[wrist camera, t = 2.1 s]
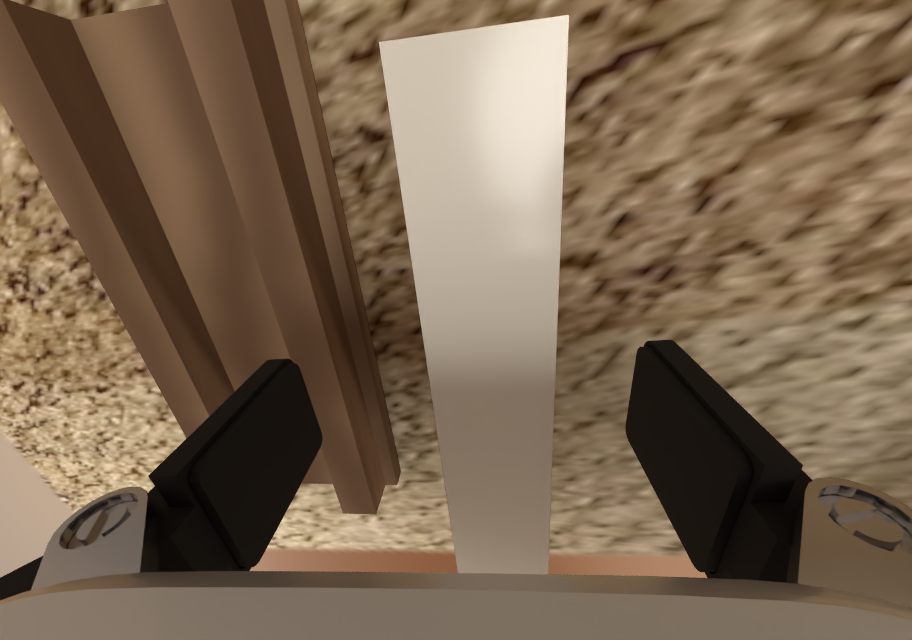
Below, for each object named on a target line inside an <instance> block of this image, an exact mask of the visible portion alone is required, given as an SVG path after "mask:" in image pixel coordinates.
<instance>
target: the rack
mask: <svg viewBox="0 0 912 640" xmlns="http://www.w3.org/2000/svg"><path fill="white" fill-rule="evenodd" d="M0 101H1V103H2V105H3V106H4V108H5V110H6V112H7V114H8V115H9V117H10V119H11V121H12V123H13V124H14V126H15V128H16V130H17V132H18V133H19V135H20V137H21V139H22V141H23V143H24V144H25V146H26V148H27V150H28V152H29V153H30V155H31V157H32V159H33V161H34V162H35V164H36V166H37V168H38V170H39V172H40V173H41V175H42V177H43V179H44V181H45V182H46V184H47V186H48V188H49V190H50V191H51V193H52V195H53V197H54V199H55V200H56V202H57V204H58V206H59V208H60V210H61V211H62V213H63V215H64V217H65V219H66V220H67V222H68V224H69V226H70V228H71V229H72V231H73V233H74V235H75V237H76V239H77V240H78V242H79V244H80V246H81V248H82V249H83V251H84V253H85V255H86V257H87V258H88V260H89V262H90V264H91V266H92V267H93V269H94V271H95V273H96V275H97V277H98V278H99V280H100V282H101V284H102V286H103V287H104V289H105V291H106V293H107V295H108V296H109V298H110V300H111V302H112V304H113V306H114V307H115V309H116V311H117V313H118V315H119V316H120V318H121V320H122V322H123V324H124V325H125V327H126V329H127V331H128V333H129V334H130V336H131V338H132V340H133V342H134V344H135V345H136V347H137V349H138V351H139V353H140V354H141V356H142V358H143V360H144V362H145V363H146V365H147V367H148V369H149V371H150V373H151V374H152V376H153V378H154V380H155V382H156V383H157V385H158V387H159V389H160V391H161V392H162V394H163V396H164V398H165V400H166V401H167V403H168V405H169V407H170V409H171V411H172V412H173V414H174V416H175V418H176V420H177V421H178V423H179V425H180V427H181V429H182V430H183V432H184V434H185V436H186V438H188V437H189V436H190V435H191V434H192V433H193V432H194V431H195V430H196V429H197V428H198V427H199V426H200V425H201V424H202V423H203V422H204V421H205V420H206V419H207V418H208V417H209V416H210V415H211V414H212V413H213V412H214V411H215V410H216V409H217V408H218V407H219V406H220V405H222V404H223V403H224V402H225V401H226V400H227V399H228V398H229V397H230V396H231V395H232V394H233V393H234V392H235V391H236V390H237V389H238V388H239V387H240V386H241V385H242V384H243V383H244V382H245V381H246V380H247V379H248V378H249V377H250V376H251V375H252V374H253V373H254V372H255V371H256V370H257V369H258V368H259V367H260V366H261V365H262V364H263V363H264V362H266V361H267V360H270V359H291V360H292V361H293V362H294V363H296V364H298V366H299V367H300V370H301V373H302V376H303V379H304V382H305V385H306V388H307V391H308V394H309V397H310V400H311V403H312V406H313V408H314V411H315V414H316V417H317V420H318V423H319V426H320V429H321V432H322V437H323V439H322V445H321V448H320V450H319V451H318V453H317V455H316V457H315V459H314V461H313V463H312V464H311V466H310V468H309V470H308V472H307V474H306V476H305V477H304V479H303V481H302V483H313V484H333V485H334V488H335V491H336V494H337V497H338V500H339V503H340V506H341V509H342V511H343V513H349V514H376V513H377V510H378V507H379V503H380V500H381V497H382V494H383V491H384V488H385V485H397V483H398V480H399V476H400V473H401V470H400V466H399V461H398V457H397V452H396V448H395V443H394V439H393V434H392V429H391V425H390V420H389V416H388V411H387V407H386V402H385V398H384V393H383V389H382V384H381V379H380V375H379V370H378V366H377V361H376V357H375V352H374V348H373V343H372V339H371V334H370V329H369V325H368V320H367V316H366V311H365V307H364V302H363V298H362V293H361V289H360V284H359V279H358V275H357V270H356V266H355V261H354V257H353V252H352V248H351V243H350V239H349V234H348V229H347V225H346V220H345V216H344V211H343V207H342V202H341V198H340V193H339V188H338V184H337V179H336V175H335V170H334V166H333V161H332V157H331V152H330V148H329V143H328V138H327V134H326V129H325V125H324V120H323V116H322V111H321V107H320V102H319V98H318V93H317V88H316V84H315V79H314V75H313V70H312V66H311V61H310V57H309V52H308V48H307V43H306V38H305V34H304V29H303V25H302V20H301V16H300V11H299V7H298V2H297V0H168V3H167V4H161V5H155V6H149V7H144V8H138V9H132V10H126V11H121V12H115V13H109V14H103V15H97V16H92V17H86V18H80V19H74V20H69V19H66V18H63V17H60V16H56V15H53V14H50V13H47V12H44V11H41V10H38V9H35V8H31V7H28V6H25V5H22V4H19V3H16V2H13V1H10V0H0Z"/></svg>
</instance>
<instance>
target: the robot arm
mask: <svg viewBox="0 0 912 640" xmlns="http://www.w3.org/2000/svg"><path fill="white" fill-rule="evenodd" d="M626 435H627V438H628V441H629V443H630V444H631V446H632V448H633V450H634V452H635V454H636V456H637V458H638V460H639V462H640V464H641V466H642V468H643V469H644V471H645V473H646V475H647V477H648V479H649V481H650V483H651V485H652V487H653V489H654V491H655V492H656V494H657V496H658V498H659V500H660V502H661V504H662V506H663V508H664V510H665V512H666V514H667V516H668V517H669V519H670V521H671V523H672V525H673V527H674V529H675V531H676V533H677V535H678V537H679V539H680V540H681V542H682V544H683V546H684V548H685V550H686V552H687V554H688V556H689V558H690V560H691V562H692V563H693V565H694V567H695V568H696V569H697V570H698V571H700V572H705V574H706V575H707V578H688V577H659V576H658V577H657V576H612V575H610V576H609V575H607V576H606V575H555V574H554V575H553V574H550V575H549V574H493V573H409V572H408V573H407V572H406V573H405V572H289V571H288V572H287V571H285V572H283V571H279V572H277V571H249V570H250V569H251V567H254V566H256V564H257V563H258V562H259V561H260V559H261V557H262V556H263V554H264V552H265V550H266V548H267V546H268V544H269V543H270V541H271V539H272V537H273V535H274V533H275V531H276V530H277V528H278V526H279V524H280V522H281V520H282V518H283V517H284V515H285V513H286V511H287V509H288V507H289V505H290V503H291V502H292V500H293V498H294V496H295V494H296V492H297V490H298V489H299V487H300V485H301V483H302V481H303V479H304V477H305V476H306V474H307V472H308V470H309V468H310V466H311V464H312V463H313V461H314V459H315V457H316V455H317V453H318V451H319V450H320V448H321V445H322V439H323V437H322V432H321V429H320V426H319V423H318V420H317V417H316V414H315V411H314V408H313V406H312V403H311V400H310V397H309V394H308V391H307V388H306V385H305V382H304V379H303V376H302V373H301V370H300V367H299V366H298V364H296V363H294V362H293V361H292V360H291V359H270V360H267V361H266V362H264V363H263V364H262V365H261V366H260V367H259V368H258V369H257V370H256V371H255V372H254V373H253V374H252V375H251V376H250V377H249V378H248V379H247V380H246V381H245V382H244V383H243V384H242V385H241V386H240V387H239V388H238V389H237V390H236V391H235V392H234V393H233V394H232V395H231V396H230V397H229V398H228V399H227V400H226V401H225V402H224V403H223V404H222V405H220V406H219V407H218V408H217V409H216V410H215V411H214V412H213V413H212V414H211V415H210V416H209V417H208V418H207V419H206V420H205V421H204V422H203V423H202V424H201V425H200V426H199V427H198V428H197V429H196V430H195V431H194V432H193V433H192V434H191V435H190V436H189V437H188V438H187V439H186V440H185V441H184V442H183V443H182V444H181V445H180V446H179V447H178V448H177V449H175V450H174V451H173V452H172V453H171V454H170V455H169V456H168V457H167V458H166V459H165V460H164V461H163V462H162V463H161V464H160V465H159V466H158V467H157V468H156V469H155V470H154V471H153V472H152V473H151V474H150V475H149V478H150V479H151V481H152V482H153V484H154V485H155V487H154V488H153V489H152V490H151V491H150V492H149V493H147V491H146V490H144V489H143V488H141V487H127V488H122V489H118V490H116V491H113V492H110V493H107V494H105V495H103V496H101V497H99V498H97V499H95V500H93V501H92V502H90V503H89V504H87V505H86V506H84V507H82V508H81V509H79V510H78V511H77V512H75V513H74V514H73V515H72V516H71V517H69V518H68V519H67V520H66V521H65V522H64V523H63V524H62V525H61V526H60V527H59V528H58V529H57V530H56V531H55V533H54V534H53V536H52V538H51V539H50V541H49V543H48V545H47V548H46V550H45V553H44V556H42V557H40V558H38V559H36V560H34V561H32V562H30V563H28V564H26V565H24V566H22V567H20V568H18V569H17V570H14V571H13V572H11V573H9V574H7V575H5V576H3V577H1V578H0V640H912V510H911V509H910V508H909V507H907V506H906V505H904V504H902V503H901V502H899V501H897V500H896V499H894V498H892V497H890V496H889V495H887V494H885V493H882V492H880V491H878V490H875V489H873V488H871V487H869V486H866V485H863V484H860V483H856V482H853V481H850V480H845V479H838V478H831V477H830V478H818V479H815V480H814V481H813V480H812V479H811V478H810V477H809V476H808V475H807V474H806V473H805V472H803V471H802V470H801V468H802V466H803V465H802V464H801V463H800V462H799V461H798V460H797V459H796V458H795V457H794V456H793V455H792V454H790V453H789V452H788V451H787V450H786V449H785V448H784V447H783V446H782V445H781V444H780V443H779V442H778V441H777V440H776V439H775V438H774V437H773V436H772V435H771V434H770V433H769V432H768V431H767V430H766V429H765V428H763V427H762V426H761V425H760V424H759V423H758V422H757V421H756V420H755V419H754V418H753V417H752V416H751V415H750V414H749V413H748V412H747V411H746V410H745V409H744V408H743V407H742V406H741V405H740V404H739V403H738V402H737V401H735V400H734V399H733V398H732V397H731V396H730V395H729V394H728V393H727V392H726V391H725V390H724V389H723V388H722V387H721V386H720V385H719V384H718V383H717V382H716V381H715V380H714V379H713V378H712V377H711V376H710V375H709V374H707V373H706V372H705V371H704V370H703V369H702V368H701V367H700V366H699V365H698V364H697V363H696V362H695V361H694V360H693V359H692V358H691V357H690V356H689V355H688V354H687V353H686V352H685V351H684V350H683V349H682V348H681V347H679V346H678V345H677V344H676V343H675V342H674V341H672V340H660V341H647V342H646V343H645V345H644V347H639V348H638V351H637V355H636V362H635V368H634V375H633V381H632V388H631V394H630V401H629V407H628V414H627V420H626Z"/></svg>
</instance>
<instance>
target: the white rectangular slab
mask: <svg viewBox="0 0 912 640" xmlns="http://www.w3.org/2000/svg"><path fill="white" fill-rule="evenodd" d="M568 25H569V15H564V16H558V17H551V18H544V19H537V20H530V21H523V22H516V23H509V24H502V25H495V26H488V27H481V28H474V29H468V30H461V31H454V32H447V33H440V34H433V35H426V36H419V37H412V38H405V39H398V40H391V41H385V42H379V45H380V52H381V59H382V66H383V72H384V79H385V86H386V93H387V99H388V106H389V113H390V119H391V126H392V133H393V140H394V146H395V153H396V160H397V167H398V173H399V180H400V187H401V193H402V200H403V207H404V214H405V220H406V227H407V234H408V241H409V247H410V254H411V261H412V267H413V274H414V281H415V288H416V294H417V301H418V308H419V315H420V321H421V328H422V335H423V341H424V348H425V355H426V362H427V368H428V375H429V382H430V389H431V395H432V402H433V409H434V415H435V422H436V429H437V436H438V442H439V449H440V456H441V463H442V469H443V476H444V483H445V489H446V496H447V503H448V510H449V516H450V523H451V530H452V537H453V543H454V550H455V557H456V563H457V570H458V573H493V574H548V564H549V563H548V562H549V537H550V510H551V483H552V456H553V429H554V402H555V375H556V348H557V321H558V294H559V268H560V241H561V214H562V187H563V160H564V133H565V106H566V79H567V52H568Z"/></svg>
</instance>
